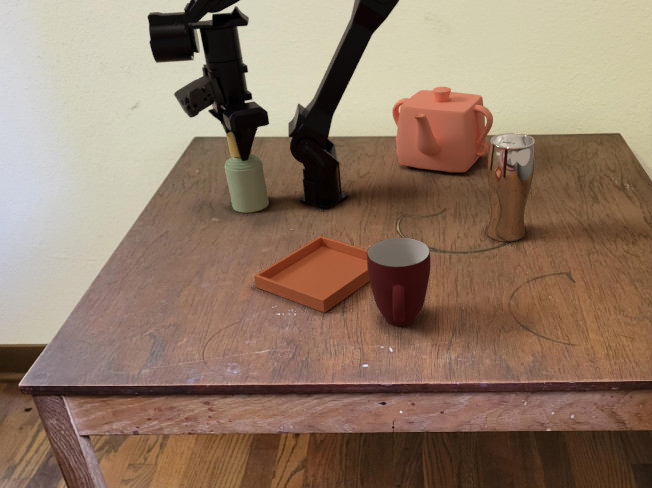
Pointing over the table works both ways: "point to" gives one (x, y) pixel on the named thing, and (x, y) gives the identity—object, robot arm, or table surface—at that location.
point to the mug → (399, 278)
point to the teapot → (441, 130)
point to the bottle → (246, 184)
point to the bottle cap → (233, 145)
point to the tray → (317, 274)
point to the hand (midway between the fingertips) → (241, 157)
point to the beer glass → (509, 184)
